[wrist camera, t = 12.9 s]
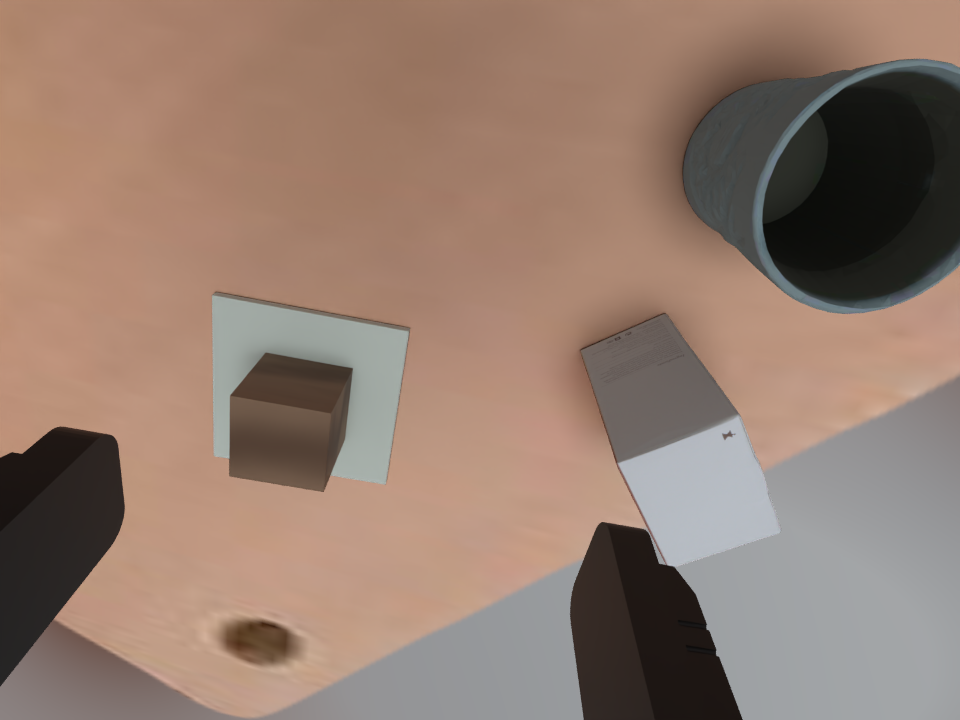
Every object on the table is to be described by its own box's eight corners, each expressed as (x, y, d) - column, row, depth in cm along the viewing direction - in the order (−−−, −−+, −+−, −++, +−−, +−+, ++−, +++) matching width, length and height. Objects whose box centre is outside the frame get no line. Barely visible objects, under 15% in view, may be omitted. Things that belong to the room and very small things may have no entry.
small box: (577, 349, 40) (613, 462, 28) (666, 310, 38) (743, 412, 27) (620, 437, 43) (668, 573, 31) (703, 405, 41) (787, 533, 30)
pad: (216, 292, 38) (212, 295, 38) (410, 328, 39) (408, 331, 39) (217, 451, 44) (213, 455, 43) (386, 479, 45) (385, 484, 44)
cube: (265, 352, 39) (229, 395, 34) (353, 368, 40) (331, 413, 34) (262, 425, 42) (229, 476, 37) (345, 439, 42) (323, 491, 37)
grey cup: (651, 112, 33) (729, 128, 22) (834, 31, 31) (1016, 5, 20) (696, 269, 37) (780, 348, 26) (860, 206, 35) (1024, 262, 24)
